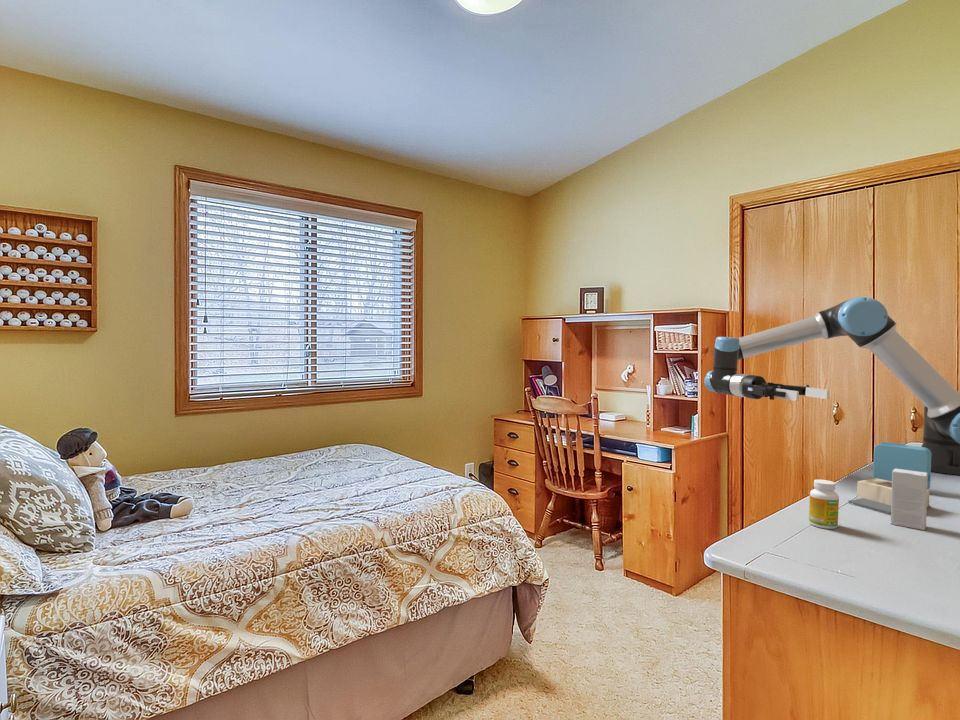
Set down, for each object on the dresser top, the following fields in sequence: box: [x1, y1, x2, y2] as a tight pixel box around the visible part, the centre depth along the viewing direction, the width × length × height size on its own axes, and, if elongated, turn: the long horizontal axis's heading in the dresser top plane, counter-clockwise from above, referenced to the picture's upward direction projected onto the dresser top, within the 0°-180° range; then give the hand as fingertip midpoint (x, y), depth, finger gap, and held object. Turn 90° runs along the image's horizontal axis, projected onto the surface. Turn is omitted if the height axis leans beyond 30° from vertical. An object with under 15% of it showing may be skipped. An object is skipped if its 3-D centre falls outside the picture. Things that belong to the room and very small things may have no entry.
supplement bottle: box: [808, 479, 840, 530], centre depth 119 cm, size 5×5×10 cm
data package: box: [872, 442, 932, 490], centre depth 149 cm, size 12×4×12 cm, turn 42°
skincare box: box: [890, 469, 928, 531], centre depth 119 cm, size 6×4×12 cm
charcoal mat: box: [847, 497, 930, 516], centre depth 134 cm, size 16×10×1 cm, turn 113°
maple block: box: [856, 478, 931, 508], centre depth 135 cm, size 8×4×12 cm
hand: (813, 395), depth 155 cm, fingers open, 13 cm apart
